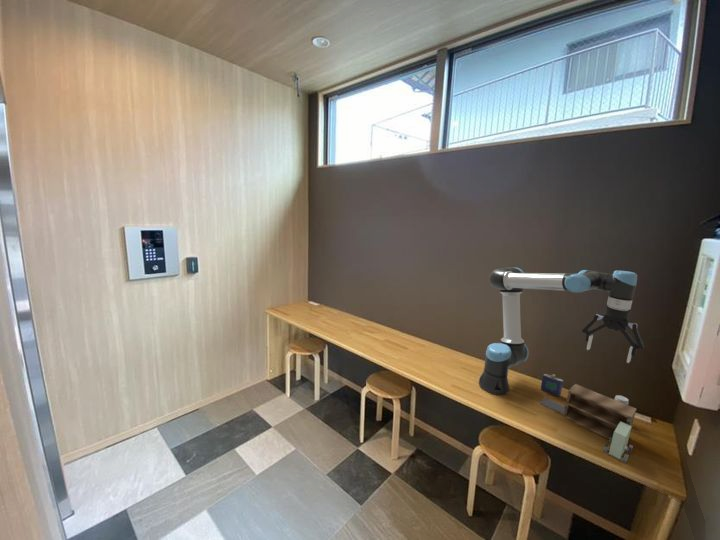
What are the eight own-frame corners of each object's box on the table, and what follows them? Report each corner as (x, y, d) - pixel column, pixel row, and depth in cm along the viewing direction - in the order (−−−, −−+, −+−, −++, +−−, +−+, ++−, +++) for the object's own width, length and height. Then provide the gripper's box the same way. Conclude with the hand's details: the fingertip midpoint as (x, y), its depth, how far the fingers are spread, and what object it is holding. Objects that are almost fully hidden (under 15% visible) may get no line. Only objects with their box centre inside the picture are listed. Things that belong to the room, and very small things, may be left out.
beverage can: (616, 417, 140) (622, 394, 137) (626, 424, 135) (632, 401, 133) (607, 417, 140) (612, 394, 137) (616, 424, 135) (621, 401, 132)
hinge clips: (603, 451, 119) (604, 446, 118) (610, 440, 125) (611, 435, 124) (626, 463, 113) (627, 457, 113) (631, 451, 119) (633, 446, 119)
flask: (560, 395, 156) (564, 376, 154) (560, 397, 154) (563, 379, 151) (540, 388, 162) (543, 370, 159) (539, 390, 159) (543, 372, 157)
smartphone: (544, 397, 153) (579, 412, 142) (544, 398, 153) (579, 413, 142) (539, 402, 148) (574, 418, 137) (539, 404, 148) (574, 420, 137)
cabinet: (563, 416, 139) (568, 390, 136) (569, 409, 144) (575, 383, 141) (624, 446, 122) (631, 416, 119) (629, 437, 127) (636, 408, 124)
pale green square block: (608, 453, 117) (614, 431, 115) (615, 442, 123) (620, 421, 122) (623, 460, 114) (629, 438, 112) (629, 449, 120) (634, 427, 118)
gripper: (579, 301, 130) (570, 346, 134) (658, 318, 111) (645, 370, 115) (584, 299, 134) (576, 342, 138) (661, 315, 115) (648, 365, 119)
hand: (607, 355), depth 127 cm, fingers open, 13 cm apart
